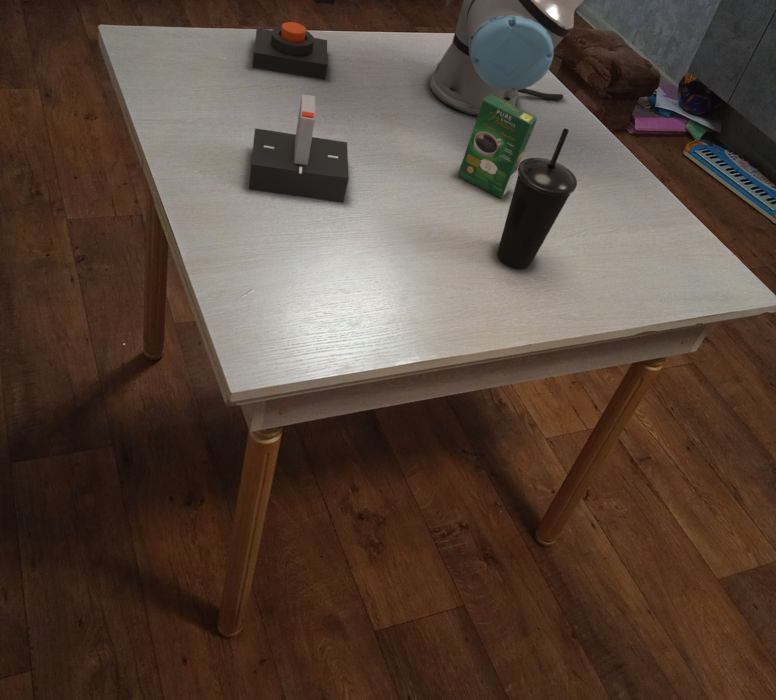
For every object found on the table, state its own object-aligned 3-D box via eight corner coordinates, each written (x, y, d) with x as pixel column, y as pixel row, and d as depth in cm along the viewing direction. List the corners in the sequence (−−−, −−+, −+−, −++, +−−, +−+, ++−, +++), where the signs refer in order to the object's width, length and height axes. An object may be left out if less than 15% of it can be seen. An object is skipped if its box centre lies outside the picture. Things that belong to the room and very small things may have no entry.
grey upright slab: (295, 139, 115) (301, 92, 110) (307, 141, 115) (315, 94, 110) (294, 163, 111) (301, 115, 106) (307, 165, 111) (315, 117, 106)
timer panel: (342, 163, 121) (347, 138, 118) (343, 205, 114) (348, 179, 111) (252, 150, 118) (255, 124, 115) (248, 191, 111) (251, 165, 108)
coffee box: (510, 193, 125) (539, 115, 115) (502, 200, 123) (531, 122, 113) (465, 169, 127) (489, 91, 117) (456, 176, 125) (480, 98, 116)
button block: (324, 54, 144) (328, 29, 140) (325, 79, 137) (329, 54, 134) (255, 42, 141) (257, 17, 138) (252, 67, 135) (254, 41, 132)
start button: (305, 34, 138) (306, 24, 137) (304, 45, 135) (306, 35, 134) (281, 30, 137) (282, 20, 136) (280, 41, 135) (281, 30, 133)
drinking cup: (539, 283, 110) (596, 154, 96) (484, 266, 110) (533, 136, 96) (542, 250, 116) (597, 124, 102) (490, 234, 116) (537, 106, 102)
